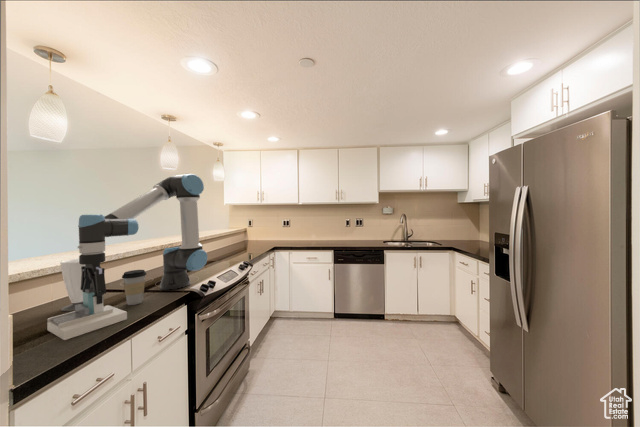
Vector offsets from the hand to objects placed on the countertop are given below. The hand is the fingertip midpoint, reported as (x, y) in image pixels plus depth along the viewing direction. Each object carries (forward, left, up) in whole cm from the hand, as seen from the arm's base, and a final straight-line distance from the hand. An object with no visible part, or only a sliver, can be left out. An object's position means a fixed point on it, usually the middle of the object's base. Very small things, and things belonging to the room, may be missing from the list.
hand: (93, 309), depth 95 cm
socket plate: (+2, +2, -5) cm, 5 cm away
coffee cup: (-18, -8, -5) cm, 20 cm away
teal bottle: (0, 0, -5) cm, 5 cm away
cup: (-4, -27, -5) cm, 28 cm away
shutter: (+7, 0, -1) cm, 7 cm away
